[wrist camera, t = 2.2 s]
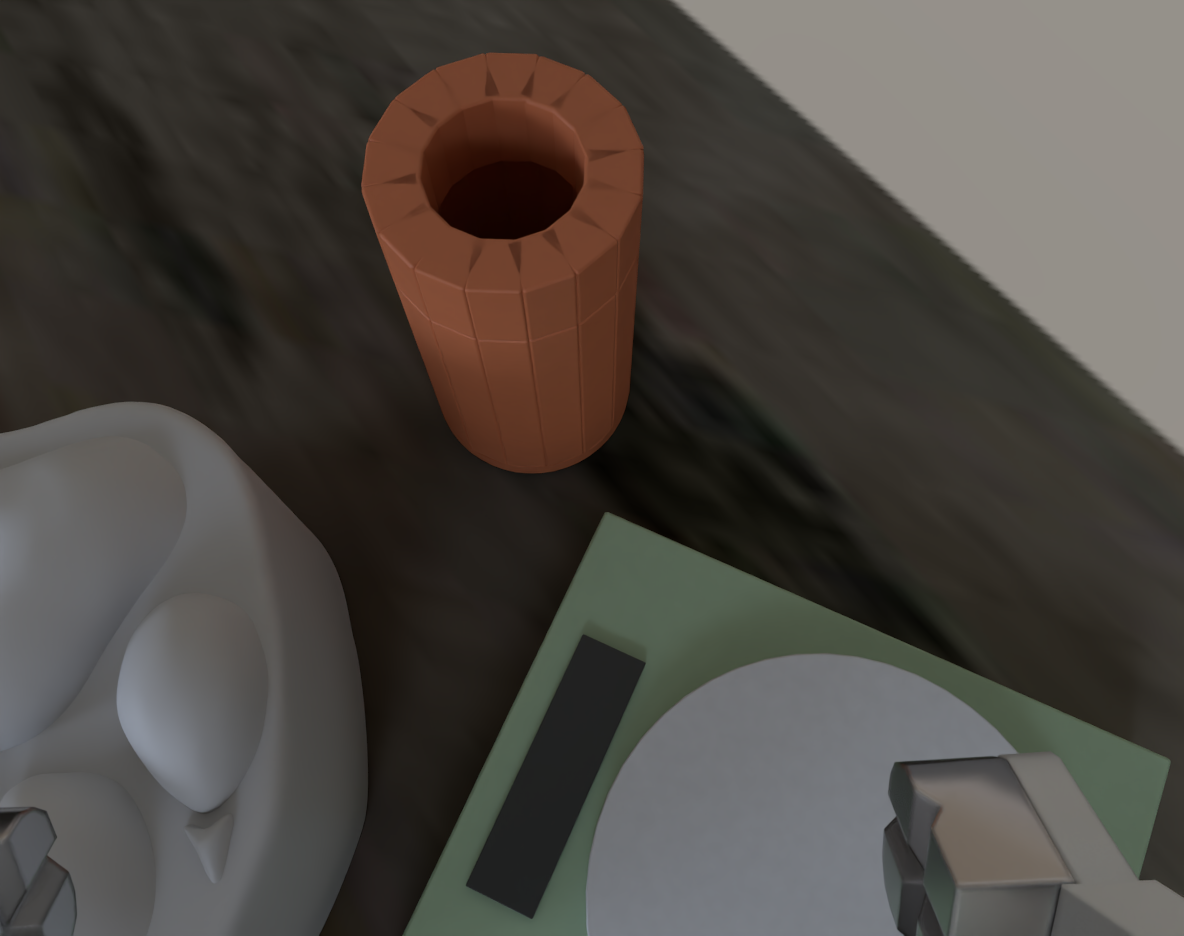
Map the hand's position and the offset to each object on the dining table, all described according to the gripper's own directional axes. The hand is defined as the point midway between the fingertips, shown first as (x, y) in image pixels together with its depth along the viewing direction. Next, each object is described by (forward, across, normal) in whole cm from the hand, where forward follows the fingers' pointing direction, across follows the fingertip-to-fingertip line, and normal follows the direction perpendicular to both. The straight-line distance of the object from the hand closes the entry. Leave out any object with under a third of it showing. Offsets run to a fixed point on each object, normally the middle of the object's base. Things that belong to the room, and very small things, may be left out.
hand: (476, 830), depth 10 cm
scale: (+10, -5, +12) cm, 17 cm away
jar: (+19, 0, +3) cm, 20 cm away
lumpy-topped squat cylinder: (+13, +10, +10) cm, 19 cm away
